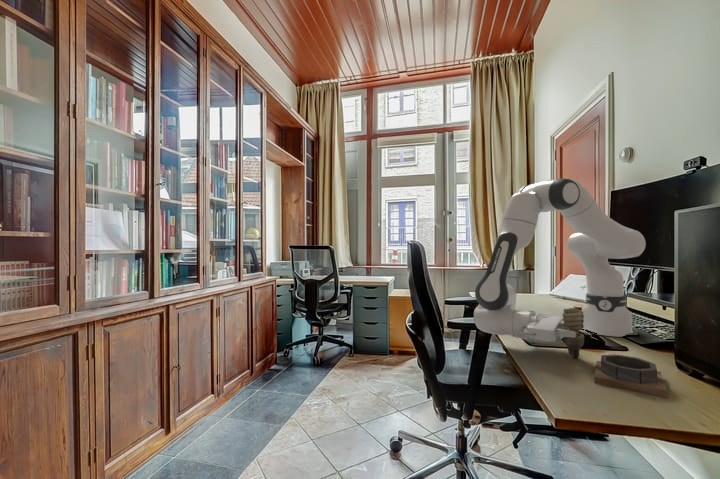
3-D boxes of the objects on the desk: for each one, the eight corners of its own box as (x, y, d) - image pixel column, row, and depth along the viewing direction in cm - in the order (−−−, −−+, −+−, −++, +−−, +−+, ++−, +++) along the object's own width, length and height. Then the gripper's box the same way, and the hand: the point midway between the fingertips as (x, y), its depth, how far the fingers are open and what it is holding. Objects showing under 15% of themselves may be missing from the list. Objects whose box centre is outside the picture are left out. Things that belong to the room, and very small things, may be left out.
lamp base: (596, 366, 88) (596, 350, 88) (660, 377, 80) (660, 359, 80) (594, 382, 78) (593, 364, 78) (667, 397, 70) (666, 377, 70)
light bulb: (589, 362, 91) (587, 310, 91) (568, 361, 92) (566, 310, 92) (580, 354, 97) (578, 305, 96) (560, 354, 98) (558, 305, 98)
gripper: (517, 321, 95) (573, 328, 86) (531, 309, 111) (579, 314, 102) (518, 343, 95) (574, 352, 86) (532, 327, 110) (580, 334, 102)
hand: (577, 331), depth 94 cm, fingers closed on light bulb, 5 cm apart
